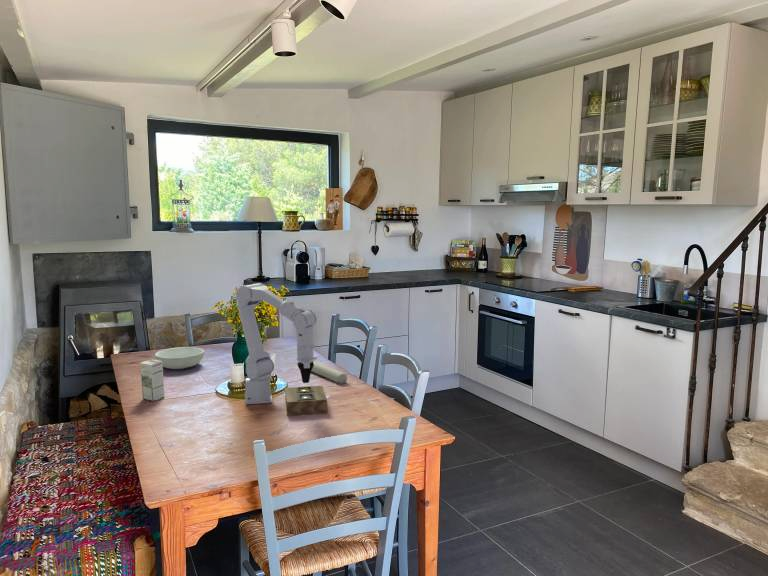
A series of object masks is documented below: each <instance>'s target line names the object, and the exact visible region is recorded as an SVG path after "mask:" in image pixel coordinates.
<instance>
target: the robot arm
mask: <svg viewBox="0 0 768 576" xmlns="http://www.w3.org/2000/svg"><path fill="white" fill-rule="evenodd" d="M235 297H236V302H237V311H238V314H239V318H240V323H241V326H242V327H241V328H242V330H243V335H244V338H245V341H246V346H247V351H248V356H247V358H246V359H245V373H246V375H247V377H246V378H245V384H244V388H245V391H244V392H245V393H244V398H245V405H258V404H271V403H273V396H272V394H271V393H272V392H271V391H272V389H271V376H272V373H273V372H274V370H275V364H274V363H275V362H274V361H273V359H272V357H271V355H270V353H269V352H267V351H265V349H264V345H263V341H262V338H261V334H260V330H259V326H258V322H257V318H256V314H255V308H256V307H257V305H258V304H259V303H260V302H262V301H264V302H265V303H267V304H268V305H271V306H272V307H274V308H276V309H278V311H279V314H280V315H281V316H282V317H284V318H286V319H287V320H289V321H291V322H292V323H293V326H294V328H295V332H296V352H297V353H296V360H297V367H298V369H299V371H300V375H301V380H302V384H309V383H310V379H311V373H312V368H313V366H314V364H313V360H317V358H318V357H317V356H316V355H314V326H315V324H316V323H317V315H316V314H315V312H313V310H311V309H308V310H305V309H304V307H301V306H299V305H297V304H296V303H295V301H293V300H284V299H282V298H281V297H279V296H278V295H276V294H275V293H274V292H273V291H271V290H270V289H269V288H268V286H267V285H265V284H264V283H262V282H256V283H253V284H246V285H240V286H239V287H238V288H237V291H236V293H235Z"/></svg>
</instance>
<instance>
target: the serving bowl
mask: <svg viewBox="0 0 768 576" xmlns="http://www.w3.org/2000/svg"><path fill="white" fill-rule="evenodd" d="M204 355H205V350H204V349H203V348H199V347H194V346H193V347H192V346H180V347H171V348H165V349H162V350H159V351H157V352H155V354H154V356H155V360H158V361H162V366H163V368H166V369H172V370H184V368H185V369H188V367H189V368H192V367H195V366H196V365H198V364H200V363H201V362H202V360H203V358H204Z"/></svg>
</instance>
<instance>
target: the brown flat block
mask: <svg viewBox="0 0 768 576" xmlns="http://www.w3.org/2000/svg"><path fill="white" fill-rule="evenodd" d="M303 388H307V389H310V391H301V392H299V390H300V389H303ZM284 393H285V395H284V396H285V408H286V416H287V417H288V416H290V417H291V416H304V415H305V414H307V415H317V414H319V413H321V414H328V399H327V395H326V392H325V390H324V386H323V385H312V386H311V385H310V386H309V385H308V386H296V387H295V386H292V387H285V389H284ZM304 395H309V396H312V398H305V399H301V396H304ZM319 415H320V414H319Z"/></svg>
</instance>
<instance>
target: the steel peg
mask: <svg viewBox="0 0 768 576" xmlns="http://www.w3.org/2000/svg"><path fill="white" fill-rule="evenodd" d="M305 398H312V396H309V395H304V396H301V399H305Z"/></svg>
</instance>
